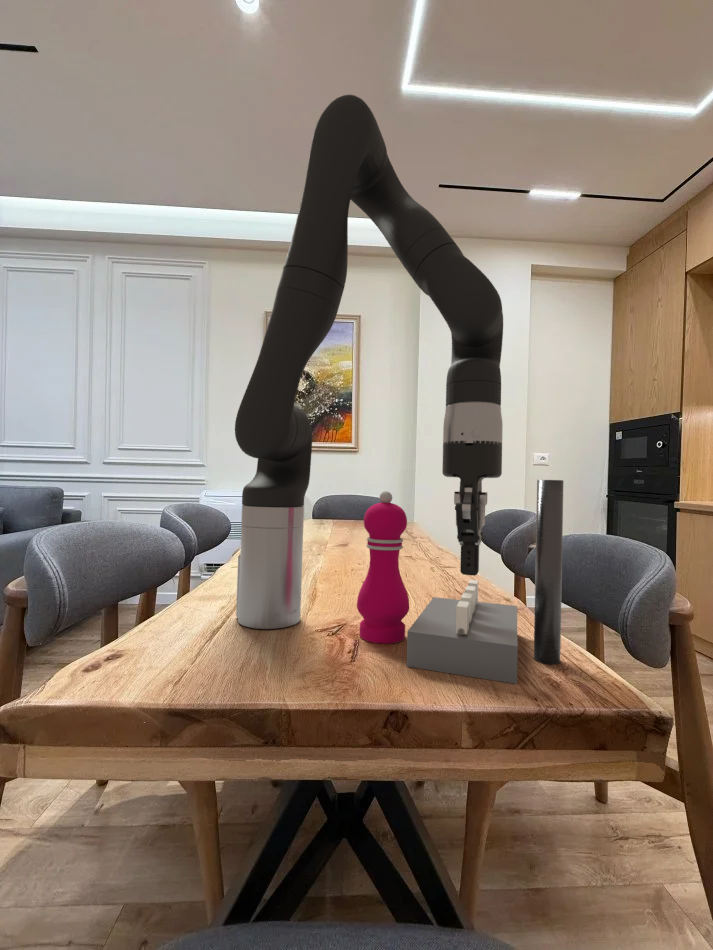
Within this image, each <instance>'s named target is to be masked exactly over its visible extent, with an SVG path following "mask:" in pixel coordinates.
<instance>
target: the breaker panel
mask: <svg viewBox="0 0 713 950" xmlns="http://www.w3.org/2000/svg"><path fill="white" fill-rule="evenodd" d="M459 601H461V599H456V598H455V599H454V598H444V597H435V596H434V597H432V599H431V600H430V601H429V603H428V604H427V605H426V607H425V608H424V609H423V610H422V612H421V613H420V614H419V615H418V616H417V618H416V620H414V622H413V623H412V624H411V626H410V627H409V629H408V630H407V631H406V632H407V635H406V636H407V638H406V667H408V668H415V669H422V670H427V671H428V670H429V671H434V672H440V673H448V674H452V675H458V676H465V677H472V678H477V679H478V678H479V679H482V680H483V679H484V680H488V681H489V680H491V681H496V682H504V683H510V684H515V685H517V684H518V656H519V655H518V649H519V648H518V646H519V644H518V641H519V638H518V636H519V635H518V606H517V605H510V604H501V603H495V602H494V603H491V602H484V601H483V602H482V601H478V602H477V605H475V611H474V614H473V613H472V620H471V623H469V629H468V632H467V634H464V635H459V634H458V633H456V608H457V604H458V602H459Z"/></svg>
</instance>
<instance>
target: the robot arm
mask: <svg viewBox="0 0 713 950" xmlns="http://www.w3.org/2000/svg"><path fill="white" fill-rule="evenodd" d="M312 135H313V136H312V140H311V143H310V144H311V145H310V150H309V157H308V163H307V168H306V174H305V179H304V180H305V181H304V187H303V191H302V196H301V201H300V205H299V208H298V212H297V216H296V219H295V220H296V221H295V224H294V228H293V232H292V236H291V241H290V243H289V247H288V252H287V254H286V257H285V261H284V264H283V267H282V271H281V275H280V279H279V282H278V285H277V290H276V293H275V297H274V301H273V306H272V310H271V314H270V316H269V321H268V323H267V327H266V330H265V333H264V336H263V342H262V344H261V348H260V352H259V355H258V358H257V361H256V363H255V366H254V369H253V370H252V374H251V377H250V379H249V381H248V384H247V387H246V389H245V391H244V394H243V396H242V399H241V402H240V404H239V407H238V409H237V413H236V416H235V417H236V418H235V422H234V436H235V440H236V443H237V445H238V447H239V449H240V450H241V451H242V452H243V453H244V454H245V455H247V456H248V457H251V458H254V459H257V462H256V463H257V464H256V471H255V474H254V477H253V478H252V480H251V481H250V482H249V483H247V484H246V485H244V487H243V489H242V494H241V529H240V530H241V532H240V534H241V535H240V554H239V555H238V557H237V583H236V609H235V616H236V618H237V622H238V624H240V625H241V626H243V627H248V628H250V629H257V630H258V629H260V630H273V629H282V628H287V627H291V626H294V625H296V624H298V623H299V622H300V620H301V610H302V609H301V607H302V603H301V602H302V585H303V584H302V583H303V582H302V580H303V577H302V576H303V552H304V550H303V548H304V546H303V545H304V516H305V515H304V511H305V495H306V493H307V491H308V488H309V484H310V480H311V479H310V478H311V465H312V451H313V450H312V449H313V431H312V424H311V421H310V418H309V416H308V415H307V413H306V412H305V411H304V410H303V409H302V408H300V407H299V406H297V405H295V404H296V403H295V402H296V397H297V394H298V389H299V386H300V382H301V378H302V375H303V373H304V370H305V369H306V366H307V365H308V362H309V361H310V359H311V358H312V356H313V355H314V353H315V352H316V350H318V348H319V347H320V345H321V344H322V343H323V341H324V340H325V338H326V337H327V336H328V335H329V332H330V330H331V329H332V328H333V325H334V322H335V321H336V317H337V315H338V311H339V308H340V305H341V301H342V298H343V294H344V290H345V286H346V282H347V273H348V252H349V248H348V247H349V246H348V245H349V244H348V243H349V242H348V241H349V239H348V238H349V236H348V234H349V233H348V231H349V230H348V229H349V227H348V226H349V225H348V221H349V220H348V219H349V210H350V209H349V208H350V204H351V202H352V203H354V204H355V205H356V206H357V207H358V208H359V209H361V211H363V213H365V215H367V217H368V218H369V219H370V220H371V222H372V223H374V225H375V226H376V227H377V228H378V231H380V232H381V234H382V235H383V237H384V238H385V240H386V241H387V242H388V245H389V246H390V248H391V250H392V252H394V254H395V255H396V257H397V259H398V260H399V261H400V264H402V266H403V267H404V269H405V270H406V272H407V273H408V275H409V276H410V277H411V278H412V280H413V281H414V283H415V284H416V285H417V286H418V288H419V289H420V290H421V291H422V292H423V293H424V294H425V295H427V296H428V297H429V299H430V300H431V301H432V302H433V304H434V305H435V307H436V309H437V310H438V311H439V313H440V315H441V316H442V318H443V319H444V321H445V323H446V324H447V326H448V328H449V331H450V333H451V363H450V364H451V365H450V366H449V368H448V371H447V375H446V384H445V386H446V387H445V412H444V418H443V425H442V426H443V429H442V430H443V432H442V433H443V434H442V470H441V471H442V475H443V476H444V477H445V478H446V477H447V478H459V479H460V481H459V490H458V491H454V492H453V493H454V494H453V504H454V505H455V506H454V510H455V526H456V531H457V535H456V537H457V538H456V539H457V541H458V543H459V546H460V570H459V571H460V573H461V574H462V575H464V576H465V575H466V576H477V575H478V573H479V570H480V546H481V543H482V536H483V527H484V526H485V524H486V506H487V504H488V491H486V492H485V491H484V492H483V489H482V488H483V485H482V483H483V480H485V479H497V478H500V477H501V476H502V474H503V473H502V472H503V471H502V470H503V468H502V467H503V417H502V416H503V415H502V406H501V405H502V374H501V373H502V372H501V359H502V349H503V348H502V347H503V338H504V337H503V336H504V314H503V312H504V311H503V306H502V305H503V303H502V300H501V297H500V296H501V295H500V293H499V292H498V290H497V288H496V287H495V286H494V285H493V282H492V281H491V280H490V279H489V278H488V276H486V275H485V273H484V272H483V271H482V270H481V269H480V268H479V267H478V266H476V265H475V264H474V263H473V262H472V261H471V260H470V259H469V258H467V257H466V256H465V255H464V254H463V252H462V250H461V249H460V247H459V246H458V245H457V243H456V242H455V240H454V239H453V238H452V236H451V235H450V234H449V233H448V231H447V230H446V229H445V228H444V225H442V223H441V222H440V221H439V220H438V219H437V218H436V217H435V216H434V215H433V214H432V213H431V212H430V211H429V210H428V209H426V208H425V207H424V206H422V205H421V204H419V202H418V201H416V200H415V199H414V198H413V197H412V196H411V195H410V194H409V192H408V190H406V189H405V187H404V185H403V184H402V182H401V180H400V178H399V177H398V175H397V173H396V171H395V169H394V166H393V164H392V162H391V160H390V158H389V155H388V150H387V146H386V145H387V144H386V142H385V140H384V138H383V135H382V132H381V130H380V127H379V124H378V122H377V119H376V117H375V115H374V112H372V109H371V108H370V106H369V105H368V104H367V103H366V101H364V100H363V99H362V97H360V96H357V95H355V94H343V95H341V96H338V97H336V98H335V99H334V100H332V101H331V102H330V103H329V104H327V106H326V107H325V109H324V110H323V112H322V113H321V115H320V116H319V119H318V121H317V123H316V125H315V128H314V132H313V134H312Z"/></svg>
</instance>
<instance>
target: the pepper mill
mask: <svg viewBox="0 0 713 950" xmlns="http://www.w3.org/2000/svg"><path fill="white" fill-rule="evenodd" d="M379 501H380V502H378V503H375V504H374V503H373V505H371V506H369V507H368V508H367V510H366V511H365V513H364V517H363V527H364V529H365V531H366V532H367V533H368V535H369V536H368V537H367V538H366V541H367V543H366V548H368V549H369V567H368V569H367V574H366V577H365V579H364V581H363V583H362V584H361V587H360V588H359V592H358V595H357V600H356V609H357V611H358V613H359V614H360V615H361V617H362V618H363V619H362V620H361V621H360V622H359V636H360V638H361V639H362V640H364V641H367V642H369V643H372V644H373V643H374V644H380V645H381V644H384V645H385V644H386V645H391V644H396V643H399V642H402V641H404V639H405V638H406V624H405V622H404V621H403V619H404V618H405V617H406V616H407V614H408V613H409V611H410V599H409V595H408V591H407V589H406V587H405V584H404V581H403V578H402V576H401V572H400V568H399V567H400V566H399V557H400V551H401V550H402V549H403V548H404V547H403V542H404V539H403V538H401V536H402V535H403V533H404V532H405V531H406V530H407V527H408V526H407V525H408V517H407V514H406V512H405V510H404V509H403V508H402V507H401V506H400V505H398V504H396V503H393V502H392V501H393V495H392V493H391V492H389V491H387V490H386V491H385V490H384V491H382V492H381V493H380V494H379Z"/></svg>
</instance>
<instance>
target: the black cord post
mask: <svg viewBox="0 0 713 950" xmlns="http://www.w3.org/2000/svg"><path fill="white" fill-rule="evenodd" d="M535 520H536V521H535V522H536V524H535V526H536V527H535V528H536V529H535V567H534V568H535V571H534V572H535V577H534V579H535V580H534V582H535V583H534V619H533V620H534V629H533V632H534V633H533V659H534V660H535V661H537V662H538V663H539V662H540V663H542V664H546V665H558V664H560V663H561V646H562V645H561V641H562V640H561V638H562V637H561V636H562V635H561V634H562V632H561V631H562V591H563V590H562V585H563V584H562V583H563V582H562V581H563V529H564V528H563V527H564V526H563V525H564V521H563V520H564V480H562V479H561V480H560V479H537V481H536V519H535Z"/></svg>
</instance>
